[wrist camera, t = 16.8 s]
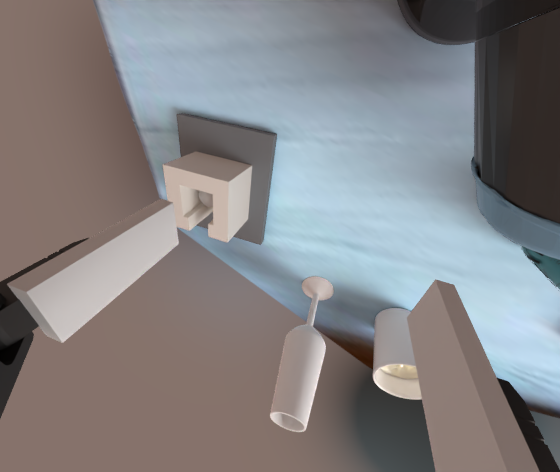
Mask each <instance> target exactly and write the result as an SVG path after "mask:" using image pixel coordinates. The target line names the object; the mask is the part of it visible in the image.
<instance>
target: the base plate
mask: <svg viewBox="0 0 560 472" xmlns="http://www.w3.org/2000/svg"><path fill="white" fill-rule="evenodd" d="M177 121H178V132H179V142H180V152H181V157H183V156H186V155H188V154H191V153H193V152H201V153H205V154H209V155H213V156H217V157H221V158H225V159H229V160H233V161H237V162H241V163H245V164H249V165H252V175H251V188H250V201H249V214H248V220H247V221H246V222H245V223H244V224H243V226H242V227H241V228H240V229H239V230H238V231H237V232H236V234H235V235H234V236H233V237H236V238H240V239H243V240H246V241H249V242H253V243H256V244H259V245H261V244H262V242H263V240H264V232H265V224H266V217H267V209H268V201H269V193H270V185H271V178H272V170H273V162H274V154H275V147H276V139H277V134H274V133H270V132H265V131H261V130H256V129H252V128H247V127H243V126H238V125H234V124H229V123H225V122H220V121H216V120H211V119H207V118H202V117H198V116H193V115H189V114H184V113H181V114H177ZM199 198H200V200H201V202H202V203H203V204H204V205H205V206H208V207H213V194H210V193H207V192H203V191H199ZM212 220H213V212H211V213H210V214H209V215H208V216H207V217H205V218H204V219H203V220H202V221H201V222H199V223H198V224H197V226H200V227H204V228H207V229H208V224H209V223H210V222H211V221H212Z"/></svg>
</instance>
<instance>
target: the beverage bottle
mask: <svg viewBox="0 0 560 472" xmlns="http://www.w3.org/2000/svg"><path fill="white" fill-rule="evenodd" d="M522 248H523V250H522V251H524V254H526V255H527V257H528V259H530V260H532V262H534V263H535V265H536V266H537V267H538V268H539V269H540V270H539V271H541V272H542V273H543V274H544V275H545V276H546V277H547V278H549V279H550V282H551V281H552V284H555V285H556V286H557V287H558V288H559V289H560V260H559V259H556V258H552V257H549V256H546V255H544V254H541V253H538V252H535V251H533V250H530V249H528V248H526V247H523V246H522ZM526 255H525V256H526ZM549 279H548V280H549ZM555 285H554V286H555Z"/></svg>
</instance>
